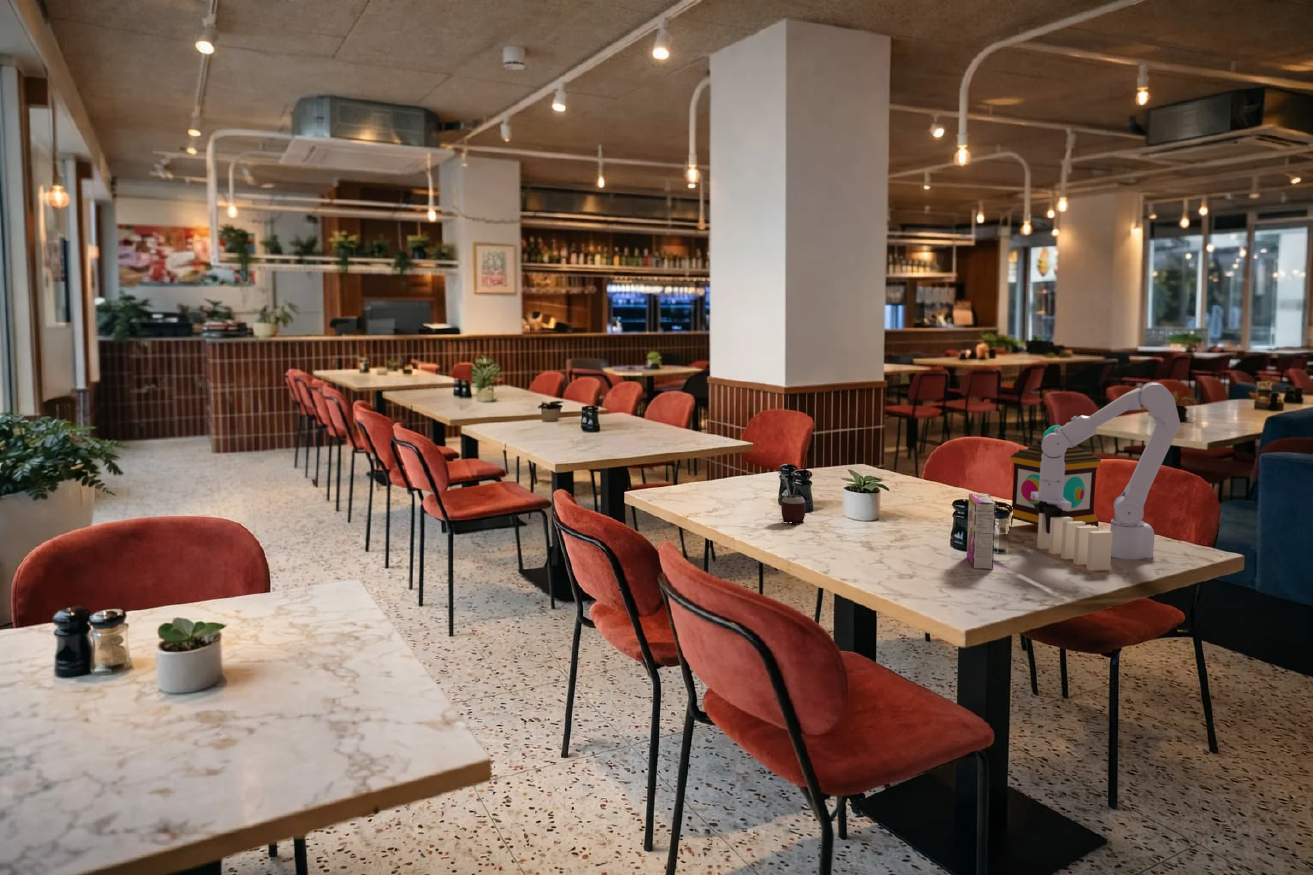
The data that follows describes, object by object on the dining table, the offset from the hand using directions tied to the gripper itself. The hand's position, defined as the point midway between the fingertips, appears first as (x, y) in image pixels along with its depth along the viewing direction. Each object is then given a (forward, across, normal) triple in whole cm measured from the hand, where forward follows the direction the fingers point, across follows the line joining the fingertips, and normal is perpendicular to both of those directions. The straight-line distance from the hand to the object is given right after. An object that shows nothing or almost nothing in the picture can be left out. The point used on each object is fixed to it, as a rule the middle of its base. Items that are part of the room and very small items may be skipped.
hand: (1048, 532), depth 228 cm
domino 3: (+4, +10, 0) cm, 11 cm away
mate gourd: (+5, -41, -55) cm, 69 cm away
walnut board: (+5, +10, 0) cm, 11 cm away
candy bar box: (+5, +8, -23) cm, 25 cm away
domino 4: (+4, +15, 0) cm, 16 cm away
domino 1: (+4, 0, 0) cm, 4 cm away
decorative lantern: (+5, -21, +15) cm, 26 cm away
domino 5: (+4, +20, 0) cm, 20 cm away
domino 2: (+4, +5, 0) cm, 7 cm away
